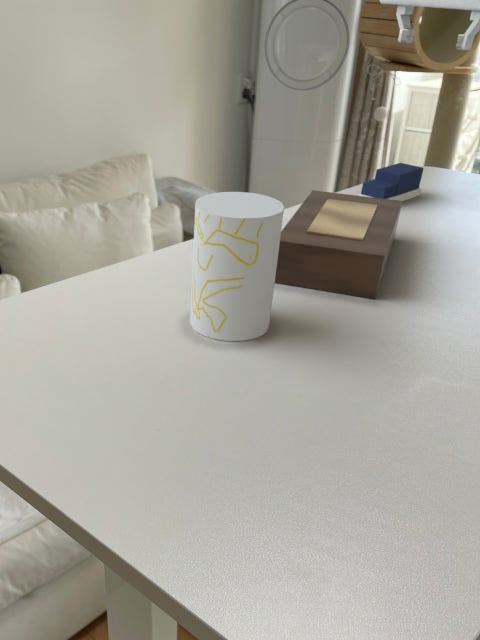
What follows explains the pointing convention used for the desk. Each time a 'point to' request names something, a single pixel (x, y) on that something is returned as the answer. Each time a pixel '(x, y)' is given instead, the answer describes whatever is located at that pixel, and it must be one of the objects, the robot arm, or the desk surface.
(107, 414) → the desk surface
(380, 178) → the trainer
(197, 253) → the yellow doodled cylinder
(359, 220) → the brown block
